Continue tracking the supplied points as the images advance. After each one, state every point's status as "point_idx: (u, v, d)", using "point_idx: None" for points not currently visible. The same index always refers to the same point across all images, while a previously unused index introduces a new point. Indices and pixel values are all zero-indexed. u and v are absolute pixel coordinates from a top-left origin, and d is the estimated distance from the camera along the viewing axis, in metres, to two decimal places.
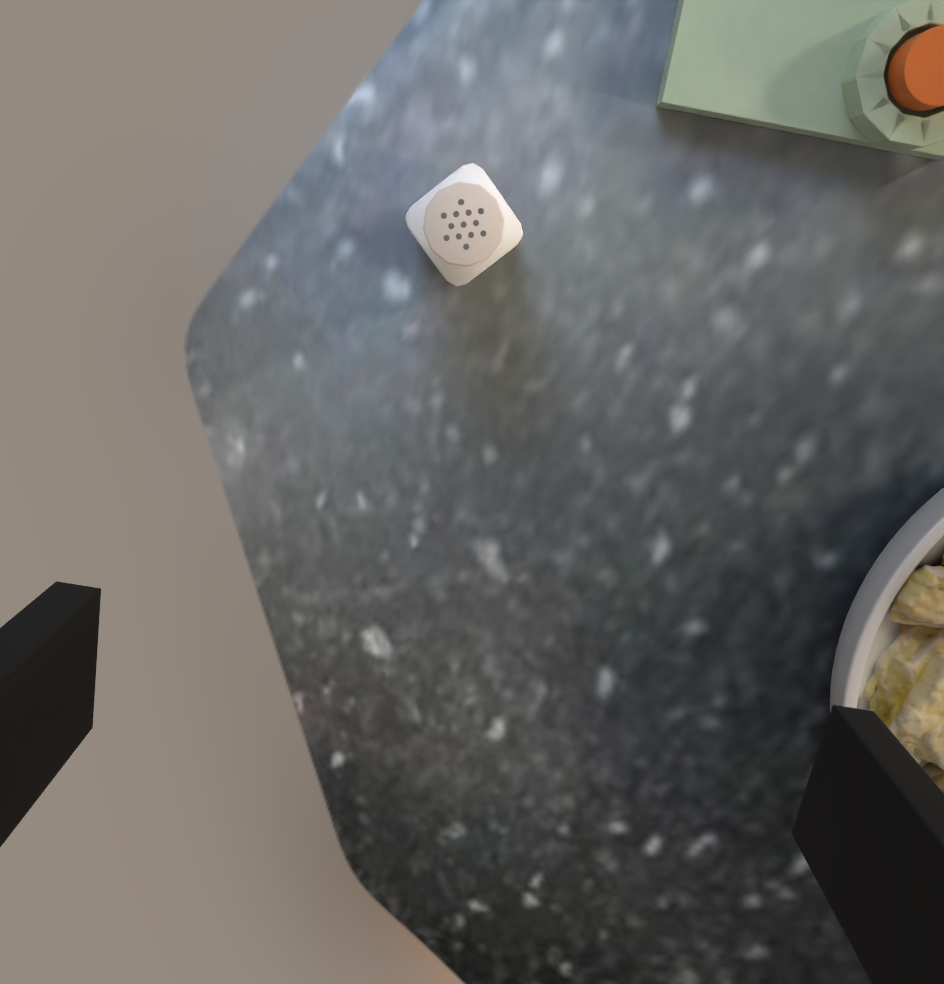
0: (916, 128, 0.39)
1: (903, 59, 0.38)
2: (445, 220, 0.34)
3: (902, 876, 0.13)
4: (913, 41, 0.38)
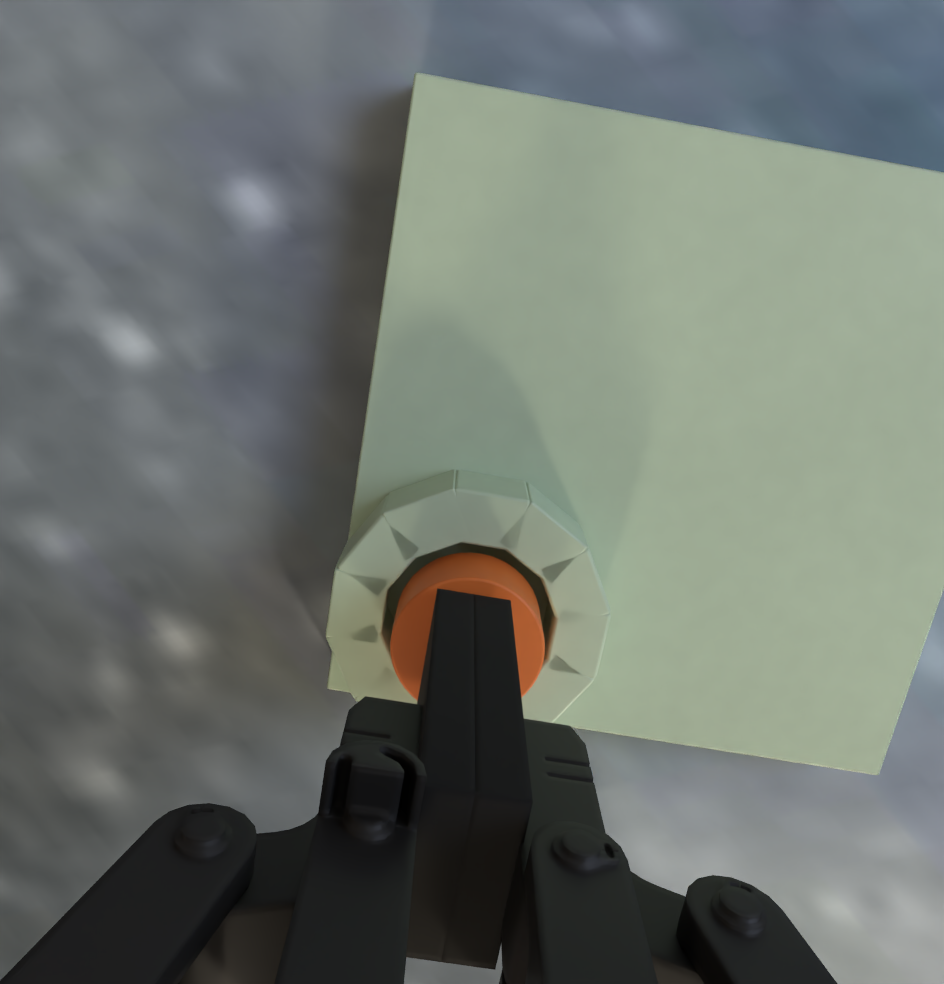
0: (360, 619, 0.19)
1: (481, 575, 0.18)
2: None
3: None
4: (515, 590, 0.18)
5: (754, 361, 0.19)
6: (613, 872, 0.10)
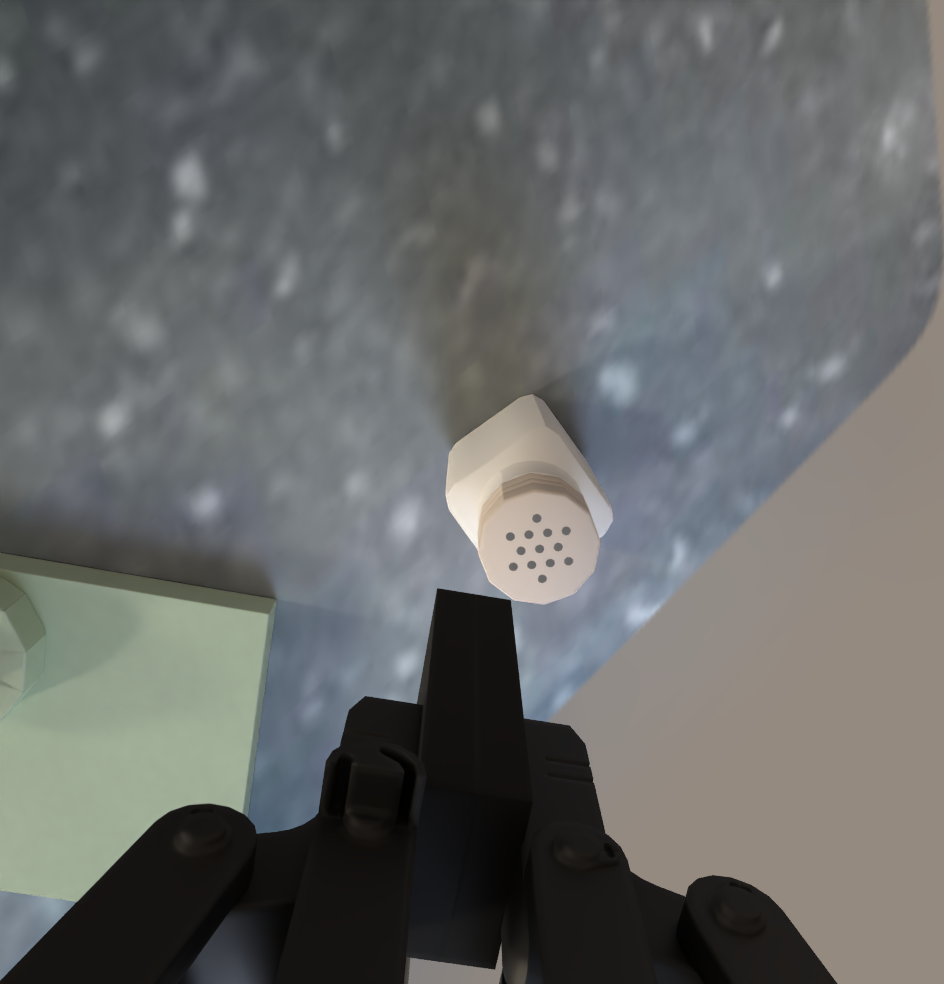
0: None
1: None
2: (567, 554, 0.23)
3: None
4: None
5: (129, 786, 0.34)
6: (613, 872, 0.10)
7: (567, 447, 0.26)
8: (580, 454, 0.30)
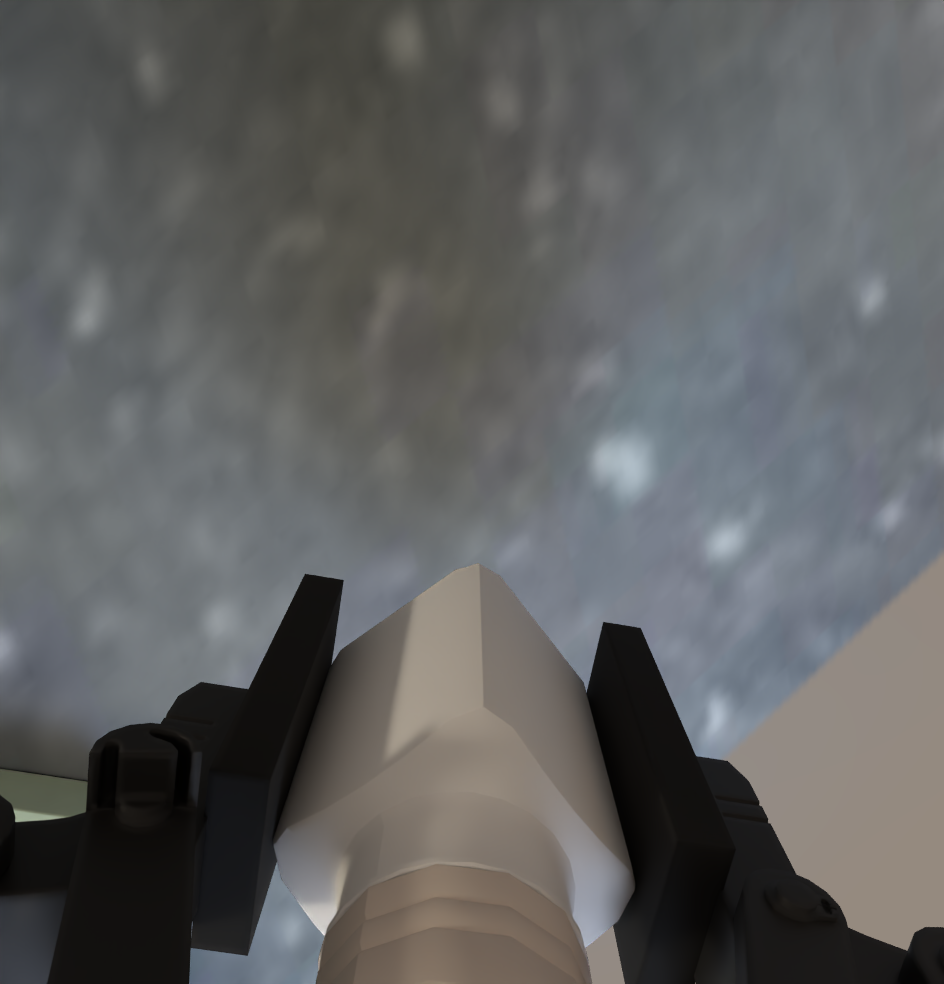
0: None
1: None
2: None
3: (619, 756, 0.14)
4: None
5: None
6: (830, 929, 0.10)
7: (532, 754, 0.12)
8: (568, 683, 0.16)
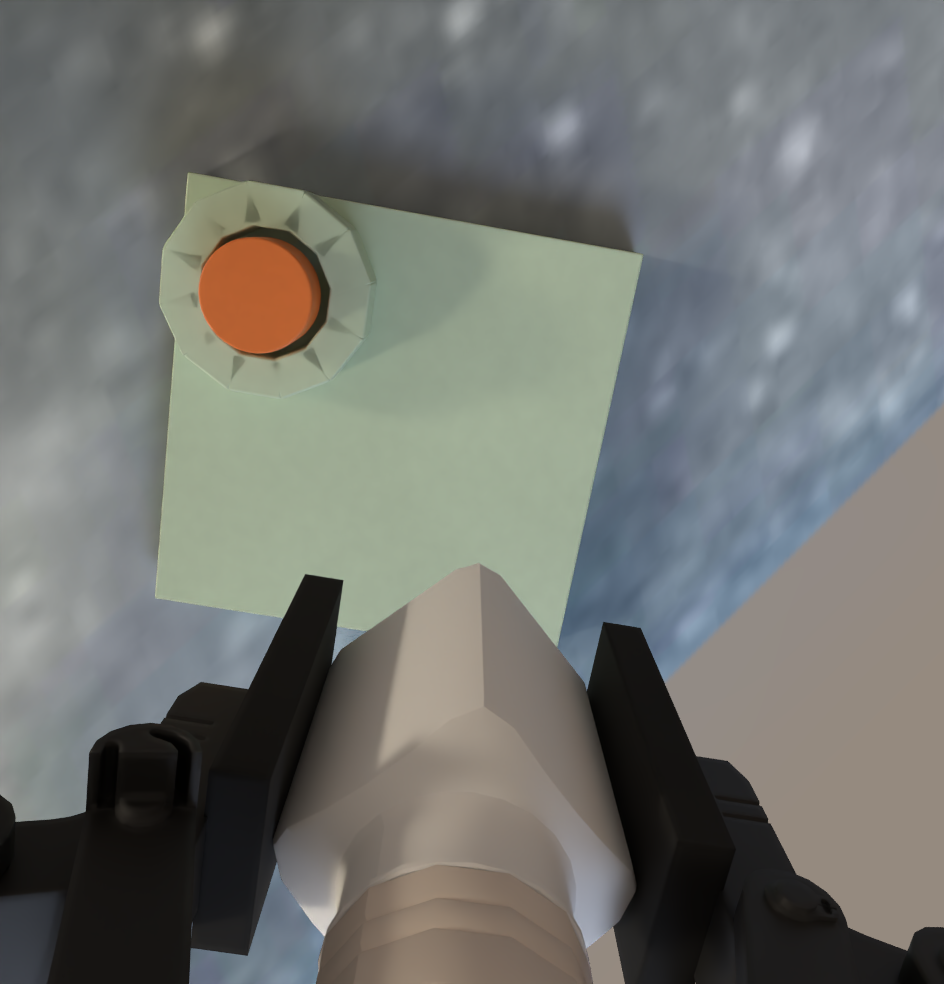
0: (264, 209, 0.25)
1: (313, 306, 0.25)
2: None
3: (619, 756, 0.14)
4: (302, 331, 0.25)
5: (456, 484, 0.29)
6: (830, 929, 0.10)
7: (533, 754, 0.11)
8: (568, 683, 0.16)
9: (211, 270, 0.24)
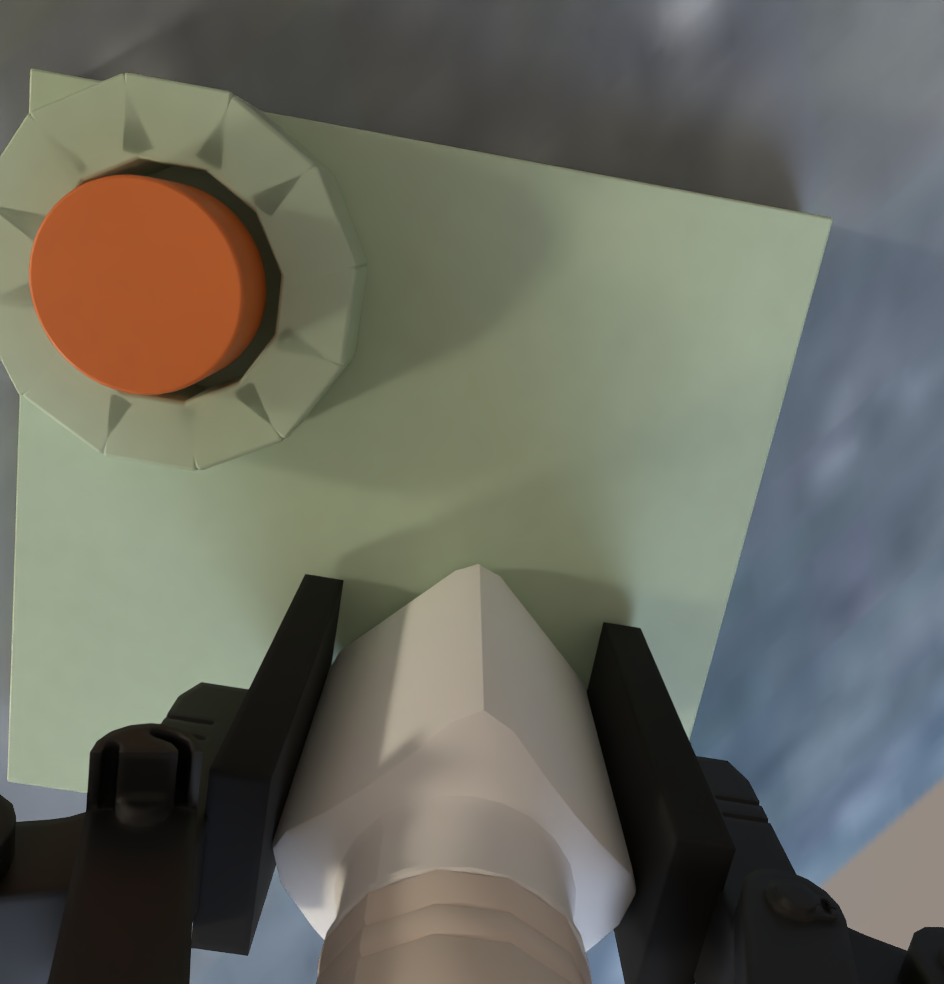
0: (157, 127, 0.13)
1: (246, 307, 0.13)
2: None
3: (619, 756, 0.14)
4: (228, 354, 0.13)
5: None
6: (829, 929, 0.10)
7: (533, 758, 0.11)
8: (568, 684, 0.16)
9: (51, 239, 0.13)
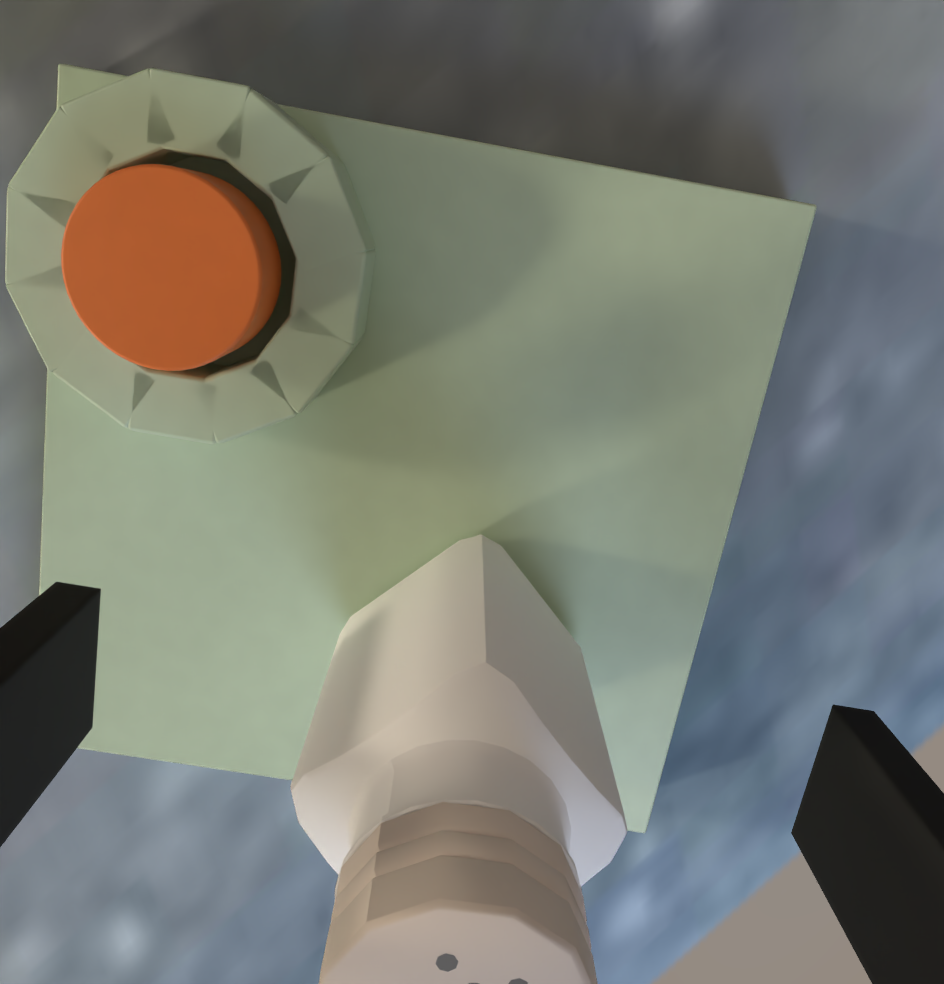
0: (180, 119, 0.14)
1: (264, 288, 0.14)
2: None
3: (902, 876, 0.13)
4: (246, 332, 0.14)
5: None
6: None
7: (531, 706, 0.12)
8: (565, 647, 0.17)
9: (82, 224, 0.14)
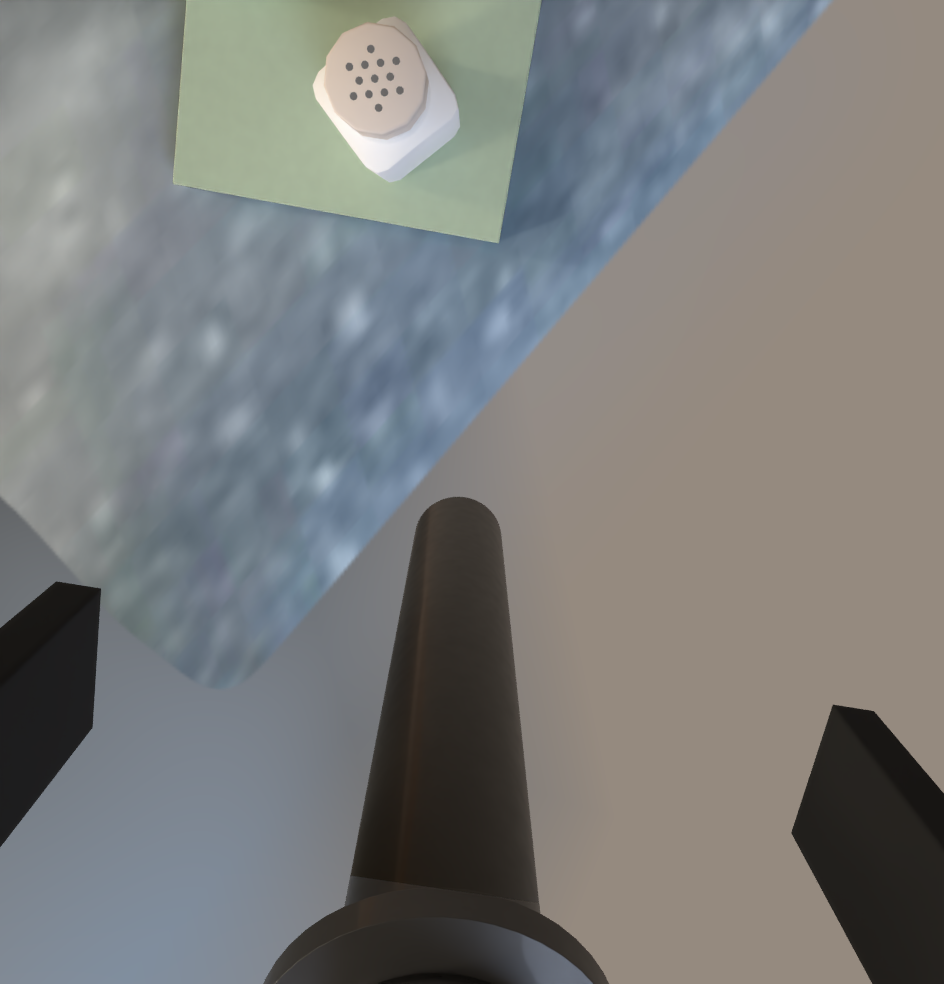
0: None
1: None
2: (398, 84, 0.27)
3: (902, 876, 0.13)
4: None
5: None
6: None
7: (413, 34, 0.30)
8: None
9: None
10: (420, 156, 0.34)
